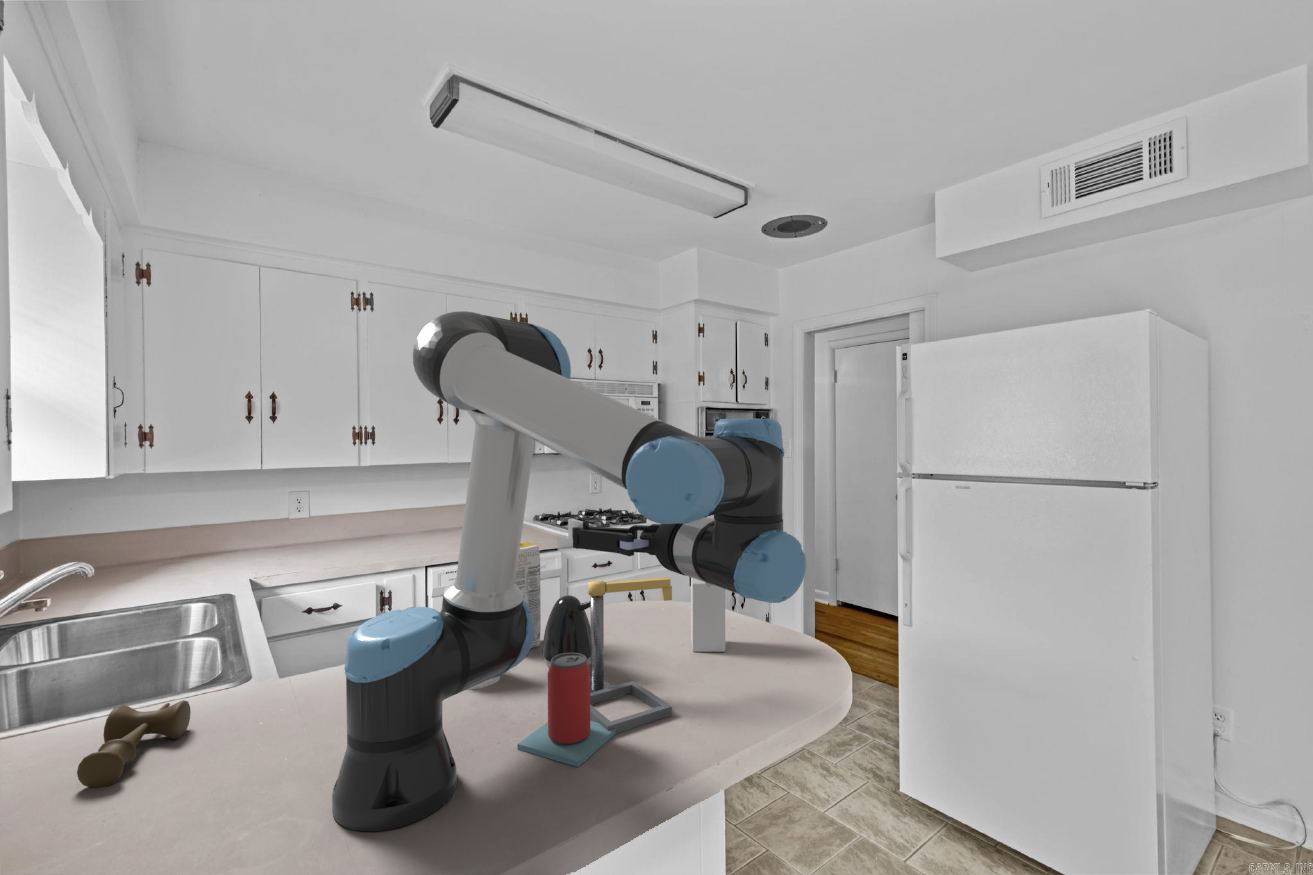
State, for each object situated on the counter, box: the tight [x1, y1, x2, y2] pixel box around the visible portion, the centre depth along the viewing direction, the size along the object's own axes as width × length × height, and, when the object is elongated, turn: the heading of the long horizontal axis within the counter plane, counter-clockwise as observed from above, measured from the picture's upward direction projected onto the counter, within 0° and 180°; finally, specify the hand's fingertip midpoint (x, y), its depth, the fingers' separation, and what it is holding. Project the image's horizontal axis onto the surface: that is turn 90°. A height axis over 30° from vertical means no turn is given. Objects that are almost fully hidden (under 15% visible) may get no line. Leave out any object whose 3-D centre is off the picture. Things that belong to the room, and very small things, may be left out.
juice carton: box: [515, 541, 542, 649], centre depth 134 cm, size 9×8×24 cm
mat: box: [516, 721, 617, 768], centre depth 94 cm, size 11×11×1 cm
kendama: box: [76, 700, 192, 789], centre depth 91 cm, size 6×10×20 cm
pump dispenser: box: [542, 594, 591, 669], centre depth 121 cm, size 10×10×15 cm
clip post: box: [589, 595, 614, 693], centre depth 111 cm, size 5×5×18 cm
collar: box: [590, 680, 673, 734], centre depth 104 cm, size 12×12×2 cm
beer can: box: [547, 653, 591, 745], centre depth 94 cm, size 7×7×12 cm
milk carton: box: [690, 577, 726, 653], centre depth 134 cm, size 7×7×19 cm
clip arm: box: [587, 576, 673, 602], centre depth 113 cm, size 16×3×4 cm, turn 107°
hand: (610, 524), depth 92 cm, fingers open, 13 cm apart
